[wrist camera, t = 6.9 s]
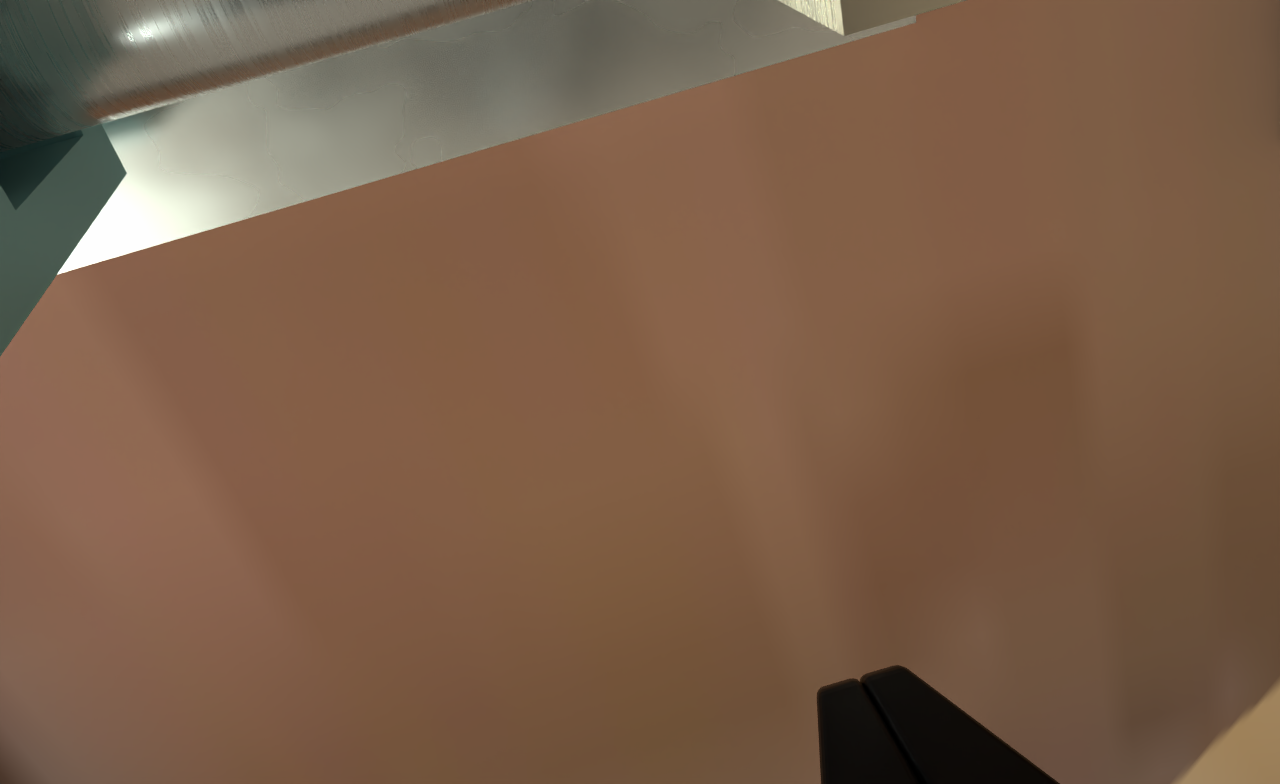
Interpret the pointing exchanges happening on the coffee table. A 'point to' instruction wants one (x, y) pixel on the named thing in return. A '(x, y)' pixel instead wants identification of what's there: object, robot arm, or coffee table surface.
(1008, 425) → the coffee table surface
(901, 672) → the robot arm
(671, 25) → the pipe rig
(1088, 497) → the coffee table surface
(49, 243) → the collar
